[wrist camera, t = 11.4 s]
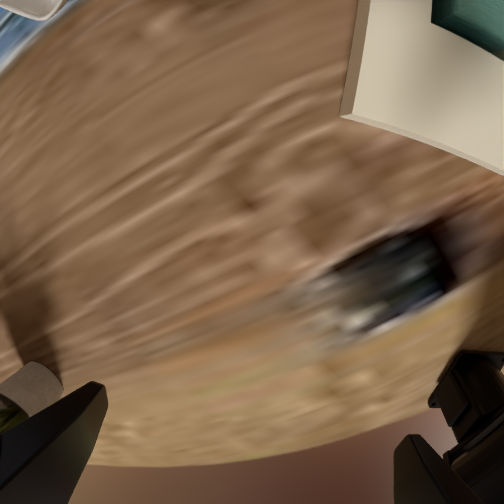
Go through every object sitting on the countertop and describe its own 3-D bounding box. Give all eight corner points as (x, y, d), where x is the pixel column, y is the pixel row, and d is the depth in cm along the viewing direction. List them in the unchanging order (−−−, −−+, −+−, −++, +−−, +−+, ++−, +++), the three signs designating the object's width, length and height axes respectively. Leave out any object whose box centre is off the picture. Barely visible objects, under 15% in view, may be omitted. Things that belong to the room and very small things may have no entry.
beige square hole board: (510, -31, 10) (534, -43, 6) (499, 174, 16) (530, 184, 13) (369, -99, 10) (379, -124, 7) (338, 116, 17) (351, 113, 13)
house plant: (34, 296, 23) (-88, 416, 8) (129, 409, 27) (66, 548, 12) (-15, 339, 27) (-94, 424, 12) (59, 424, 31) (4, 519, 15)
